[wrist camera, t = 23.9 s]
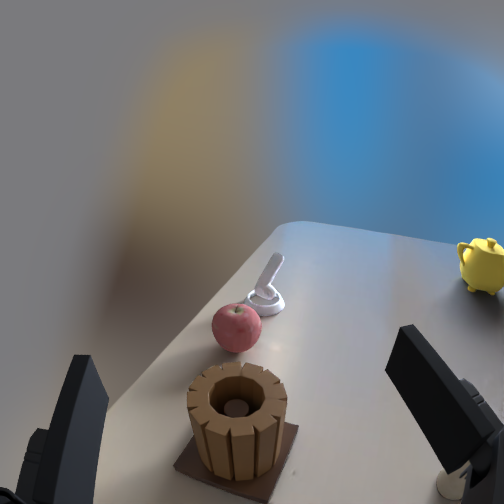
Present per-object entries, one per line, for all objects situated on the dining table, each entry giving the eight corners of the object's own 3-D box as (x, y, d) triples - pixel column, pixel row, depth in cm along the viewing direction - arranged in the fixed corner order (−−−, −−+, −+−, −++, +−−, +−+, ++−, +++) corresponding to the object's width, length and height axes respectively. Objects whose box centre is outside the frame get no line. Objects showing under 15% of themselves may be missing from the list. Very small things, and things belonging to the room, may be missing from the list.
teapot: (518, 303, 55) (534, 257, 50) (453, 294, 61) (468, 244, 56) (502, 278, 67) (514, 236, 62) (443, 268, 73) (453, 224, 68)
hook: (309, 271, 61) (300, 265, 55) (279, 324, 62) (266, 324, 55) (278, 253, 65) (266, 246, 58) (249, 305, 65) (234, 303, 59)
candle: (459, 507, 20) (507, 467, 16) (428, 487, 24) (469, 444, 20) (478, 476, 23) (522, 430, 19) (449, 457, 27) (487, 410, 23)
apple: (235, 326, 54) (234, 287, 51) (269, 344, 50) (271, 303, 46) (204, 347, 49) (199, 306, 45) (238, 369, 45) (237, 327, 41)
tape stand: (175, 470, 29) (157, 428, 25) (216, 407, 38) (210, 357, 34) (267, 505, 25) (272, 472, 21) (297, 431, 34) (307, 383, 30)
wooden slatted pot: (185, 462, 29) (168, 413, 24) (219, 408, 36) (213, 352, 32) (262, 491, 26) (266, 449, 21) (289, 429, 33) (297, 375, 29)
